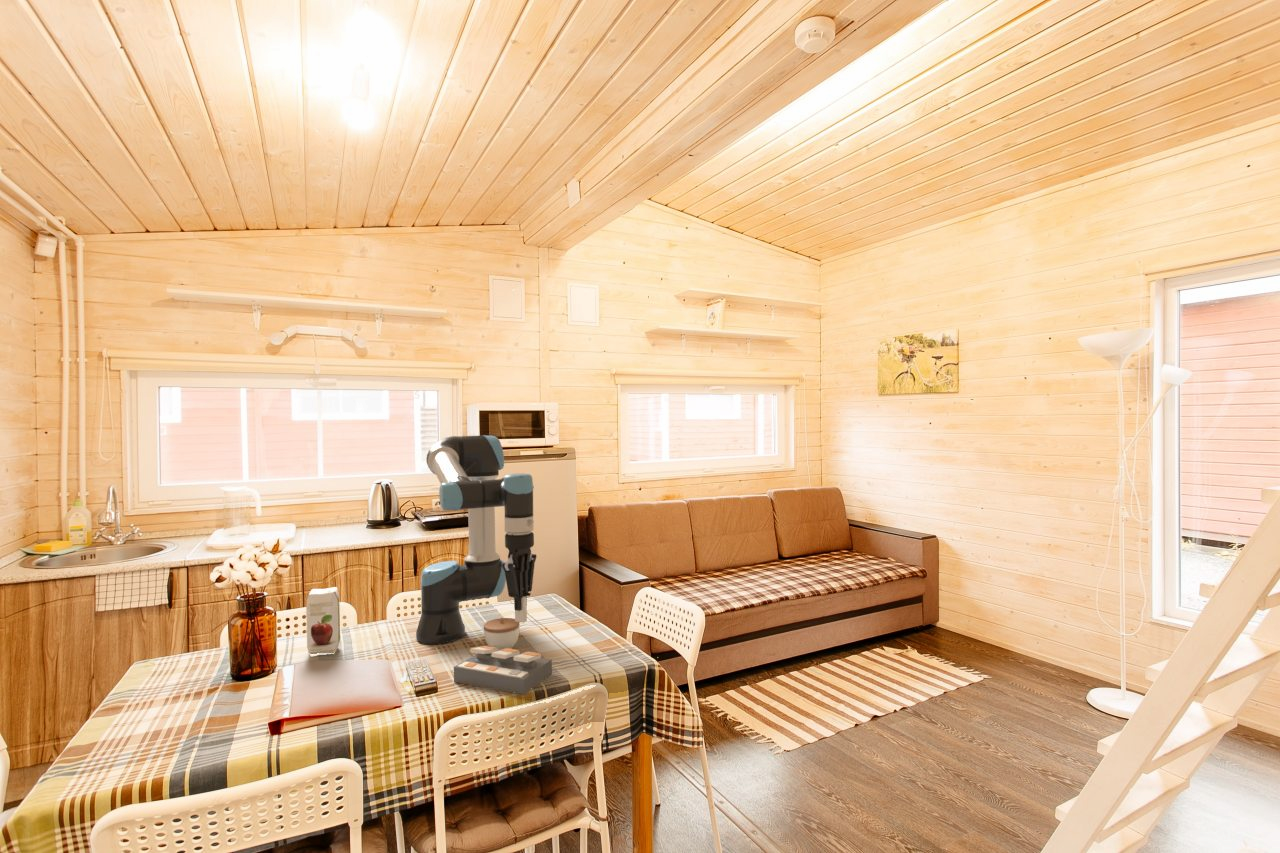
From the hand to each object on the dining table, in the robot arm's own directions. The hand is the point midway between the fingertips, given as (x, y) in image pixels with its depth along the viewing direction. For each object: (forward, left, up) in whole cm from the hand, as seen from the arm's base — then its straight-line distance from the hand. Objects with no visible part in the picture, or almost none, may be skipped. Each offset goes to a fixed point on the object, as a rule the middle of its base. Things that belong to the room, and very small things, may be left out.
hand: (520, 621), depth 167 cm
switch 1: (-14, +3, -11) cm, 18 cm away
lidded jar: (-20, +20, -17) cm, 33 cm away
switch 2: (-7, +3, -11) cm, 13 cm away
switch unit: (-7, +2, -17) cm, 18 cm away
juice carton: (-69, -2, -17) cm, 71 cm away
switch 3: (0, +3, -11) cm, 11 cm away
